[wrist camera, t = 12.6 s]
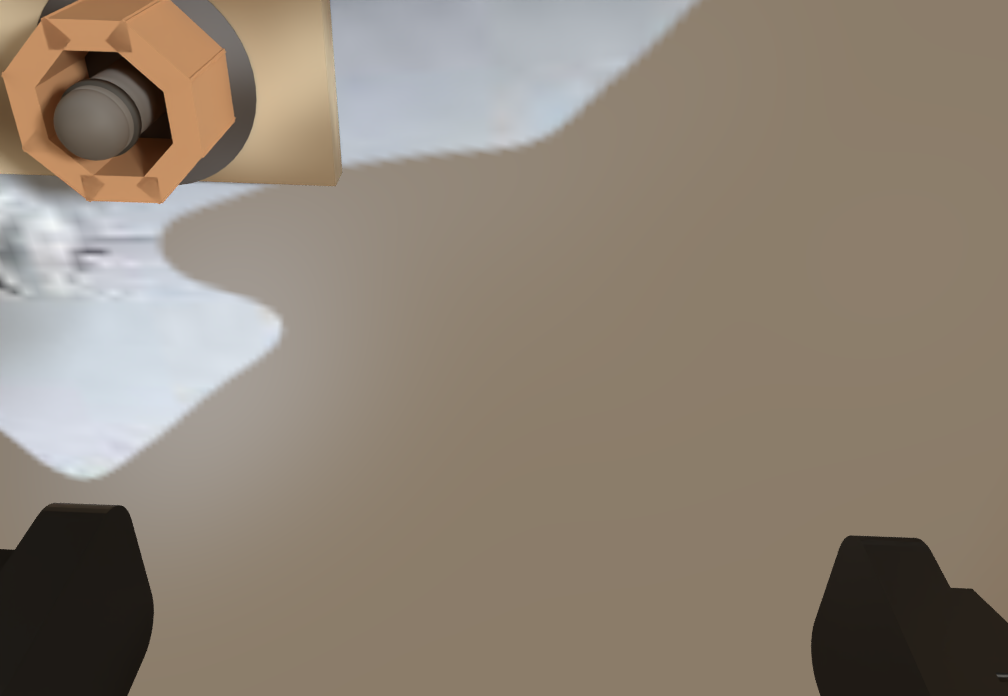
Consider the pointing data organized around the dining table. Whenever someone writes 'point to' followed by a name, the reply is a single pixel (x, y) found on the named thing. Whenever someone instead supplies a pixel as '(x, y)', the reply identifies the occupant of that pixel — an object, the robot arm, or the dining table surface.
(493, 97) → the dining table surface
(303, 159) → the post board
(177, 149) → the ring
